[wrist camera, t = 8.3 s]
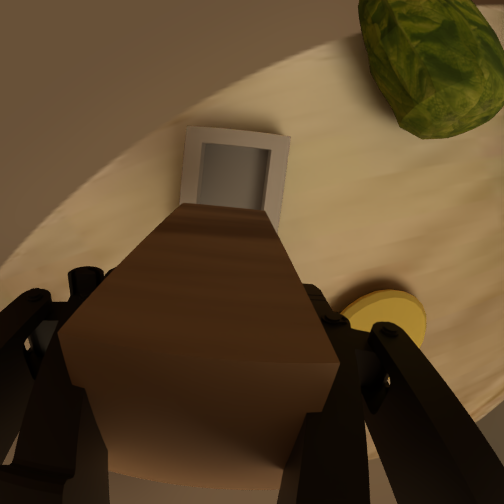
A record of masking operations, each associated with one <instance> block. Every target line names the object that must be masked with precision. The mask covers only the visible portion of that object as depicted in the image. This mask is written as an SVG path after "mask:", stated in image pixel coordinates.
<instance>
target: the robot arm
mask: <svg viewBox="0 0 504 504" xmlns="http://www.w3.org/2000/svg"><path fill="white" fill-rule="evenodd" d="M115 268H116V267H115ZM115 268H113V269H111V270H109V271H108V272H107V273H106V274H105V276H104V272H103V270H102V269H100V268H97V267H91V266H86V267H79V268H75V269H73V270H71V271H70V272H69V273H68V280H69V288H70V295H71V296H70V298H69V300H68V302H52V299H51V294H50V292H49V291H48V290H45V289H39V288H35V289H34V288H33V289H30V290H28V291H26V292H24V293H22V294H21V295H20V296H19V297H17V298H16V299H15V300H14V301H13V302H11V303H10V304H9V305H8V306H7V307H6V308H5V309H3V310H2V311H1V312H0V504H110V500H109V480H108V450H107V448H106V445H105V443H104V440H103V438H102V435H101V433H100V430H99V428H98V425H97V423H96V420H95V417H94V414H93V412H92V409H91V406H90V403H89V400H88V397H87V394H86V391H85V388H82V387H78V386H75V385H72V383H71V380H70V376H69V373H68V370H67V367H66V363H65V360H64V356H63V352H62V349H61V345H60V341H59V337H58V333H57V332H58V331H59V330H60V329H61V327H62V326H63V325H64V324H65V323H66V322H67V320H68V319H69V318H70V317H71V316H72V315H73V314H74V312H75V311H76V310H77V309H78V308H79V307H80V306H81V305H82V303H83V302H84V301H85V300H86V299H87V298H88V297H89V296H90V295H91V293H92V292H93V291H94V290H95V289H96V288H97V287H98V286H99V285H100V284H101V283H102V282H103V281H104V280H105V278H106V277H107V276H108V275H109V274H110V273H111V272H112V271H113V270H114V269H115ZM303 286H304V288H305V290H306V292H307V295H308V297H309V299H310V301H311V303H312V305H313V307H314V309H315V311H316V313H317V315H318V317H319V319H320V321H321V323H322V325H323V328H324V330H325V332H326V334H327V336H328V338H329V340H330V342H331V344H332V347H333V349H334V351H335V353H336V355H337V357H338V359H339V361H340V365H339V368H338V371H337V373H336V376H335V379H334V381H333V384H332V387H331V389H330V392H329V394H328V397H327V400H326V402H325V404H324V407H323V409H322V412H310V413H306V416H305V419H304V421H303V424H302V426H301V429H300V431H299V434H298V436H297V439H296V441H295V444H294V446H293V449H292V451H291V453H290V456H289V458H288V460H287V463H286V465H285V467H284V469H283V474H282V480H281V485H280V490H279V495H278V500H277V504H370V490H369V470H368V454H367V442H366V431H365V422H366V425H367V427H368V430H369V432H370V435H371V437H372V440H373V442H374V444H375V447H376V449H377V452H378V454H379V457H380V459H381V462H382V464H383V467H384V470H385V472H386V475H387V477H388V480H389V483H390V485H391V488H392V490H393V493H394V496H395V498H396V501H397V503H398V504H504V466H503V465H502V463H501V461H500V460H499V458H498V457H497V455H496V454H495V452H494V451H493V449H492V447H491V446H490V445H489V443H488V442H487V440H486V438H485V437H484V436H483V434H482V432H481V431H480V430H479V428H478V427H477V425H476V424H475V422H474V421H473V419H472V418H471V417H470V415H469V414H468V412H467V411H466V410H465V408H464V407H463V405H462V404H461V403H460V401H459V400H458V398H457V397H456V396H455V394H454V393H453V392H452V390H451V389H450V388H449V386H448V385H447V384H446V382H445V381H444V380H443V378H442V377H441V376H440V375H439V373H438V372H437V371H436V369H435V368H434V367H433V365H432V364H431V363H430V362H429V360H428V359H427V358H426V357H425V355H424V354H423V353H422V352H421V350H420V349H419V348H418V347H417V345H416V344H415V343H414V342H413V340H412V339H411V338H410V337H409V335H408V334H407V333H406V332H405V331H404V330H403V329H402V328H401V327H399V326H397V325H396V324H395V323H391V322H383V321H381V322H376V323H374V324H373V326H372V329H371V331H370V332H367V331H361V330H357V329H353V328H351V324H350V321H349V320H348V318H346V317H345V316H344V315H342V314H339V313H337V312H333V311H332V309H331V307H330V305H329V304H328V302H327V301H326V299H325V297H324V295H323V294H322V292H321V290H320V289H319V288H317V287H316V286H314V285H313V284H303ZM27 338H28V340H29V343H30V346H31V347H30V348H29V350H26V348H25V345H24V343H25V341H26V339H27ZM388 378H390V385H389V383H388V381H387V380H388ZM364 420H365V421H364ZM19 431H20V432H19ZM18 433H19V436H18V441H17V445H16V449H15V454H14V458H13V461H12V463H11V464H10V465H2V463H3V461H4V459H5V457H6V455H7V453H8V452H9V449H10V448H11V446H12V444H13V442H14V440H15V438H16V436H17V434H18Z"/></svg>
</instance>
